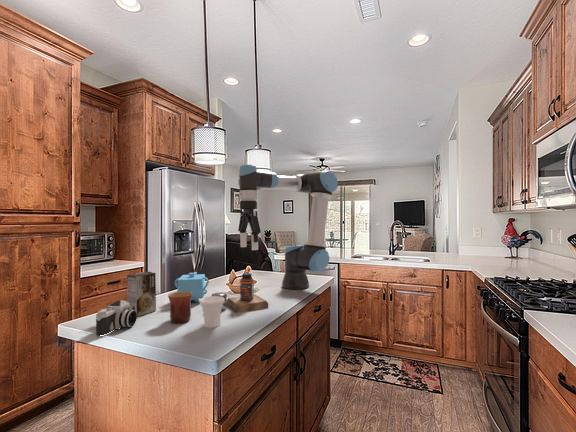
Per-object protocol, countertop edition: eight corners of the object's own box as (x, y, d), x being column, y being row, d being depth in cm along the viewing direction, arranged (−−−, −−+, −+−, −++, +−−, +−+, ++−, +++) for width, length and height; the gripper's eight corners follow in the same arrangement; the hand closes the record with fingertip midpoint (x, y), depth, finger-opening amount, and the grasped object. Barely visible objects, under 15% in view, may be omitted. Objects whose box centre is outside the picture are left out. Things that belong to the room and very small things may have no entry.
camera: (116, 338, 102) (116, 307, 102) (90, 337, 102) (90, 307, 102) (142, 321, 118) (142, 295, 118) (120, 321, 118) (120, 295, 118)
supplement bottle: (239, 301, 134) (239, 274, 134) (240, 297, 140) (240, 272, 140) (252, 301, 134) (252, 274, 134) (254, 297, 140) (254, 272, 140)
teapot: (207, 303, 142) (207, 274, 142) (171, 304, 140) (171, 275, 140) (211, 293, 160) (211, 268, 160) (179, 294, 158) (179, 269, 158)
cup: (202, 321, 117) (202, 295, 117) (227, 321, 117) (227, 295, 117) (194, 330, 108) (194, 301, 108) (221, 330, 108) (221, 301, 108)
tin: (224, 306, 136) (224, 291, 136) (229, 310, 131) (229, 295, 131) (209, 309, 133) (209, 293, 133) (214, 313, 128) (213, 296, 128)
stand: (255, 300, 146) (255, 294, 146) (268, 308, 134) (268, 301, 134) (226, 304, 140) (226, 297, 140) (237, 313, 127) (237, 305, 127)
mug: (193, 323, 115) (193, 295, 115) (168, 326, 112) (168, 298, 112) (190, 314, 126) (190, 288, 126) (167, 316, 123) (167, 290, 123)
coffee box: (146, 308, 134) (146, 271, 134) (156, 310, 131) (156, 272, 131) (126, 314, 126) (126, 274, 126) (136, 317, 123) (136, 276, 123)
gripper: (231, 201, 147) (231, 246, 147) (251, 199, 125) (251, 252, 125) (246, 201, 150) (246, 245, 151) (268, 199, 128) (268, 250, 129)
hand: (249, 248), depth 138 cm, fingers open, 13 cm apart
